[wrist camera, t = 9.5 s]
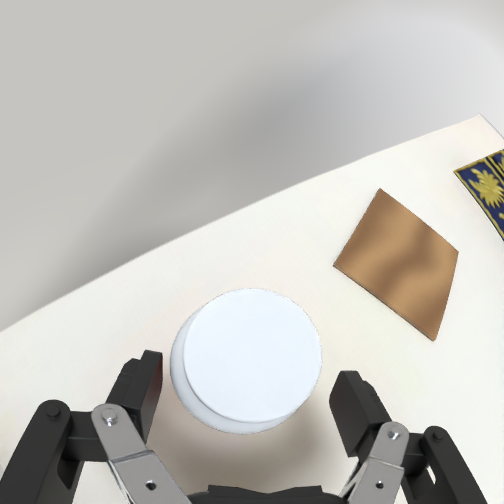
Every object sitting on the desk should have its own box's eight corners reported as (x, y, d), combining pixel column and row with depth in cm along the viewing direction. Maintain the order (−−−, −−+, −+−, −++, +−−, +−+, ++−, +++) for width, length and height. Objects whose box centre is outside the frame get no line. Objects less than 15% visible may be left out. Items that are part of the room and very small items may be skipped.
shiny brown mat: (332, 265, 24) (334, 263, 24) (378, 190, 30) (379, 187, 29) (432, 341, 22) (435, 340, 22) (456, 253, 28) (458, 251, 27)
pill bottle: (164, 385, 18) (118, 367, 8) (217, 317, 21) (229, 235, 11) (241, 438, 17) (281, 477, 7) (289, 366, 20) (368, 326, 10)
